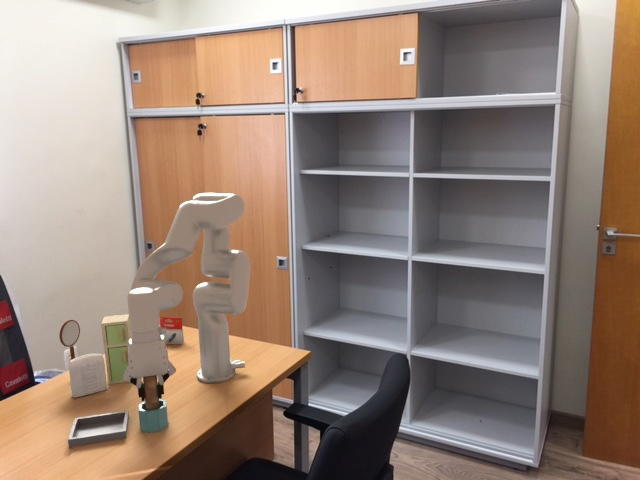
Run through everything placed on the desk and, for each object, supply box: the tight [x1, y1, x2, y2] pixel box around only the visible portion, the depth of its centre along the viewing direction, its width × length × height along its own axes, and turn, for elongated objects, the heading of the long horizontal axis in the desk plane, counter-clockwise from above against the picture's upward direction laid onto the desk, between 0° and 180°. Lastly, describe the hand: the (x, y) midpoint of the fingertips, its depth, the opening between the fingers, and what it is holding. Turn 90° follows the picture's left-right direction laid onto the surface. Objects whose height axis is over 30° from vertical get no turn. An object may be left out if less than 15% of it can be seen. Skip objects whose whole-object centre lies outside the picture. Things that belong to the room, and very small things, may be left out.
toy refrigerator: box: [101, 313, 131, 385], centre depth 176 cm, size 8×7×21 cm
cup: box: [137, 398, 169, 434], centre depth 149 cm, size 7×7×6 cm
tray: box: [67, 410, 130, 450], centre depth 147 cm, size 14×11×3 cm
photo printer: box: [68, 352, 108, 398], centre depth 169 cm, size 10×4×12 cm, turn 123°
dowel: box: [142, 375, 160, 411], centre depth 148 cm, size 4×4×15 cm
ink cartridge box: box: [159, 316, 185, 345], centre depth 207 cm, size 2×11×10 cm, turn 81°
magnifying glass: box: [59, 319, 81, 361], centre depth 178 cm, size 9×2×20 cm, turn 164°
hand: (151, 397), depth 148 cm, fingers open, 3 cm apart
